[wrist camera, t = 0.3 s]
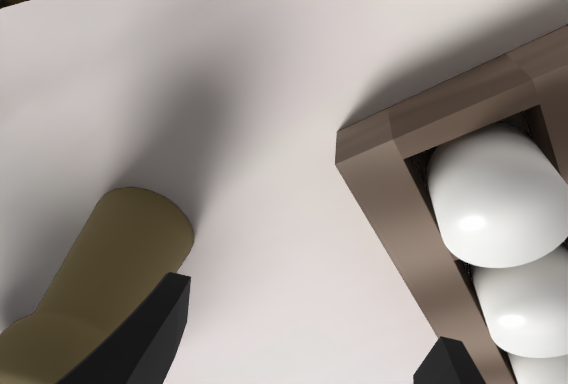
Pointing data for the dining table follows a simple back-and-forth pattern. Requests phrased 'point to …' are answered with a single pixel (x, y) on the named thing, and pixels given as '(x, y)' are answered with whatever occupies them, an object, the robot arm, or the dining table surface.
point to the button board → (414, 196)
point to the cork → (97, 284)
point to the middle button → (527, 304)
